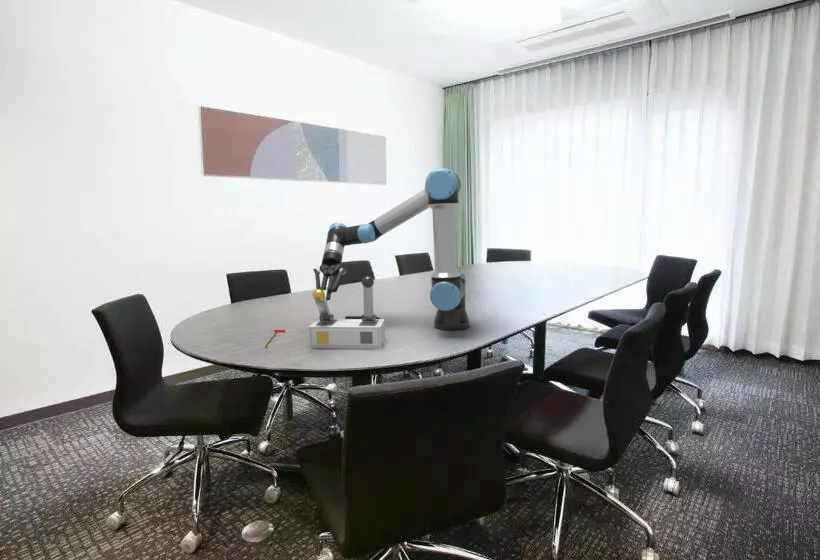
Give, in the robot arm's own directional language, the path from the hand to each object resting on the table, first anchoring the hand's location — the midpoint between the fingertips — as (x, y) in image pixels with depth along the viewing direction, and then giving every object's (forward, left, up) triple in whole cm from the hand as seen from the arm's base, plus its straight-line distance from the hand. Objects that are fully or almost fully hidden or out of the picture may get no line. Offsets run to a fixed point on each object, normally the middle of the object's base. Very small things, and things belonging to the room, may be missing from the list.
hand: (323, 306), depth 163 cm
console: (-8, -2, -15) cm, 17 cm away
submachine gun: (-2, -27, -15) cm, 31 cm away
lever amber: (0, -3, -6) cm, 6 cm away
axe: (+25, -8, -15) cm, 30 cm away
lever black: (-16, -2, -6) cm, 18 cm away
